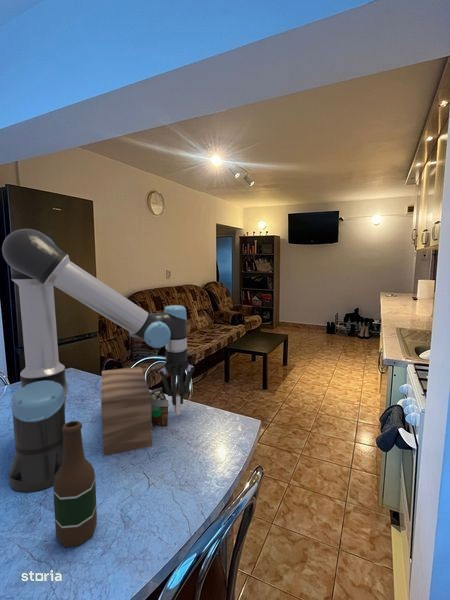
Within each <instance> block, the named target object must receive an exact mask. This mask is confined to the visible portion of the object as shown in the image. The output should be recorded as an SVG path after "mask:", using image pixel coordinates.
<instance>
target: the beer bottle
mask: <svg viewBox="0 0 450 600" xmlns="http://www.w3.org/2000/svg"><path fill="white" fill-rule="evenodd" d="M82 428H83V425H82V423H81V422H80V421H78V420H72V421H69V422H65V424H64V426H63V427H62V431H61V432H63V459H62V465H61V467H60V469H59V470H58V472H57V473H56V476H55V479H54V484H53V486H52V487H53V489H52V490H53V491H52V493H53V494H52V495H53V507H54V523H55V524H54V526H55V535H56V539H57V541H58V542H59V543H60V544H61V546H62V547H63V548H74V547H80V546H81V545H82V544H83V543H84V544H85V543H86V541H88V540H90V539H91V538H92V537H93V535H94V534H95V533H94V532H95V529H96V526H97V524H98V520H97V518H98V511H97V508H98V507H97V490H96V486H97V485H96V473H95V469H94V467H93V465H92V463H91V462H90V461H89V460H88V459H87V458H86V456H85V453H84V446H83V445H84V444H83V437H82V436H83V435H82Z"/></svg>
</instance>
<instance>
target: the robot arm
mask: <svg viewBox="0 0 450 600" xmlns="http://www.w3.org/2000/svg"><path fill="white" fill-rule="evenodd" d="M1 251H2V252H1V253H2V256H3V259H4V260H5V262H6V263H7V264H8V265H9V266H10V274H11V275H10V276H11V277H10V278H11V281H12V282H14V283H15V284H16V285H17V286H18V291H19V292H18V293H19V304H20V314H21V326H22V327H21V328H22V337H23V339H22V340H23V349H24V351H23V352H24V360H25V361H24V362H25V367H24V369H22V370H21V371H20V378H19V379H20V386H21V387H20V388H18V389H17V390H16V391H15V393H14V394H13V396H12V399H11V400H12V401H11V413H12V420H13V421H12V422H13V432H14V433H13V435H14V446H15V447H14V448H15V452H14V455H13V459H12V463H11V466H10V469H9V472H8V473H9V474H8V482H9V483H8V484H9V486H10V488H11V489H12V490H13V491H14V490H15V491H17V492H21V493H31V492H37V491H41V490H45V489H47V488H50V487H53V484H54V479H55V476H56V473H57V472H58V470H59V469H60V467H61V465H62V459H63V432H61V431H62V427H63V426H64V424H66V403H67V394H68V388H69V387H68V381H67V377H66V367H65V364H62V363H61V362H60V360H59V359H60V358H59V348H58V335H57V334H58V333H57V318H56V306H55V305H56V304H55V292H54V291H55V289H54V287H55V288H57V289H59V290H60V291H62V292H63V293H65V294H67V295H68V296H70V297H71V298H73V299H75V300H77V301H78V302H80V303H81V304H83V305H85V306H87V307H88V308H90V309H91V310H92V311H94V312H96V313H98V314H99V315H102V316H103V317H105V318H106V319H108V320H109V321H111V322H113V323H114V324H116V325H117V326H119V327H121V328H123V329H124V330H126V331H128V332H129V336H130V337H131V338H139V339H141V341H143V342H145V344H146V345H148V346H149V347H151V348H154V349H160V348H161V349H162V348H163V347H165V363H164V367H162V368H161V369H159V370H158V374H159V375H160V377H161V379H162V382H163V385H164V389H165V392H166V395H167V396H168V397H171V404H172V405H173V406H174V413H175V415H177V416H178V415H181V414H182V413H181V410H182V409H181V407H182V406H181V405H183V403H184V395H185V394H188V393H189V390H190V384H191V381H192V380H191V379H192V376H193V373H194V372H195V369H196V368H195V367H194V366H193V365H192V364H190V363H189V362H188V335H187V332H188V331H187V330H188V329H187V327H188V326H187V325H188V323H187V321H188V320H187V319H188V318H187V309H186V307H185V306H183V305H179V304H178V305H174V304H173V305H167V306H165V307H164V311H163V312H157V313H156V312H155V313H149V312H148V311H146V310H145V309H143V307H140V306H138V305H137V304H135V302H133V301H131V300H130V299H128V298H127V297H126V296H124V295H122V294H120V293H119V292H117V291H116V290H115V289H113V288H112V287H110V286H109V285H107V284H105V283H104V282H103V281H101V280H100V279H98V278H96V277H95V276H93V274H90V273H89V272H87V271H86V270H85V269H83V268H82V267H80V266H78V265H76V264H75V263H74V262H72V261H71V260H70V257H69V254H68V253H66V252H64V251H63V250H61V249H60V248H59V247H58V246H57V245H56V244H55V242H54V241H53V240H52V238H50V237H49V236H47V235H46V234H44V233H43V232H41V231H39V230H36V229H31V228H22V229H21V228H20V229H17V230H14V231H12V232H11V233H9V234H8V235H7V236H6V237H5V239H4V241H3V243H2V246H1ZM167 372H168V374H169V375H170V386H169V382H168V379H167V376H166V374H167ZM185 372H186V377H185V381H184V373H185ZM177 383H178V387H177ZM170 387H171V388H170ZM177 388H178V389H177ZM177 390H178V393H177Z"/></svg>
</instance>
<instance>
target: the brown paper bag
mask: <svg viewBox="0 0 450 600" xmlns="http://www.w3.org/2000/svg"><path fill="white" fill-rule="evenodd" d="M145 377H146V376H145V374H144V371H143V368H142V367H141V366H135V367H134V366H132V367H125V368H117V369H107V370H101V394H100V395H101V396H100V400H101V401H100V402H101V403H100V405H101V430H102V431H101V432H102V434H101V435H102V452H103V453H102V455H103V457H106V456H110V455H115V454H116V455H117V454H120V453H121V454H122V453H125V452H131V451H136V450H140V449H141V450H142V449H145V448H150V447H153V438H152V437H153V435H152V434H153V432H152V425H153V424H152V422H151V394H150V392H151V391H150V389H149V386H148V383H147V380H146V378H145Z"/></svg>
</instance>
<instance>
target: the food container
mask: <svg viewBox="0 0 450 600" xmlns="http://www.w3.org/2000/svg"><path fill="white" fill-rule="evenodd" d="M150 394H151V422H152V425H154V427H161V428H164V427H169V406H170V405H169V399H167V398H166V395H165V393H164V391H163V387H158V388H155V389H152V390H151V391H150Z"/></svg>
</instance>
